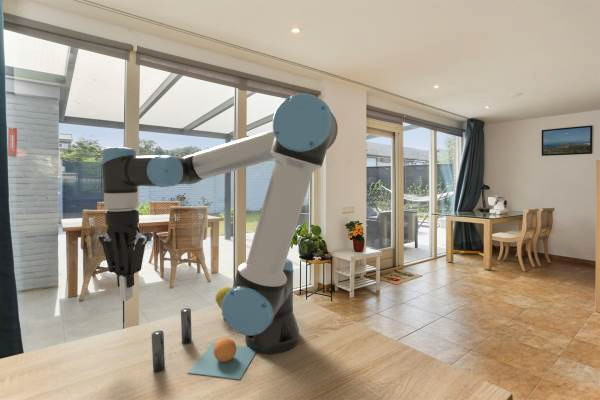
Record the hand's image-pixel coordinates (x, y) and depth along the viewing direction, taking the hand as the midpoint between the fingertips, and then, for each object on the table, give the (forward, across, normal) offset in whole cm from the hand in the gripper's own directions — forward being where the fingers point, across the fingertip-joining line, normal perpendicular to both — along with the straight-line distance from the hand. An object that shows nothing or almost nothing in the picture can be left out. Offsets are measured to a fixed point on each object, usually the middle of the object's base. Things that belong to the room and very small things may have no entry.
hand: (126, 298), depth 83 cm
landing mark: (+14, -27, 0) cm, 30 cm away
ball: (+11, -27, 0) cm, 29 cm away
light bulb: (+14, -18, -22) cm, 32 cm away
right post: (+14, -13, -6) cm, 20 cm away
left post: (+14, -13, +6) cm, 20 cm away
